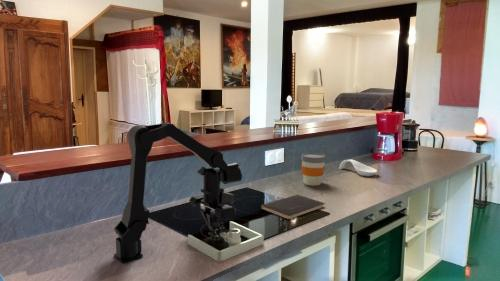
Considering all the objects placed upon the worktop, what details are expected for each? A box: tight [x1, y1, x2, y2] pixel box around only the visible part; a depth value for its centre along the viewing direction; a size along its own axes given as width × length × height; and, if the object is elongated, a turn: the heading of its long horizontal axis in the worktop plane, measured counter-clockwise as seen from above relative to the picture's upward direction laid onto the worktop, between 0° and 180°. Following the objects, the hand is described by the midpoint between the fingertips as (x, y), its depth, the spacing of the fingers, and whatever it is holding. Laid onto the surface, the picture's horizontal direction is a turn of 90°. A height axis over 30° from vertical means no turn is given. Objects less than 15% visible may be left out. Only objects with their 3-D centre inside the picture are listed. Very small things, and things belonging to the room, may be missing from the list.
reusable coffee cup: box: [300, 152, 326, 187], centre depth 197 cm, size 13×13×15 cm
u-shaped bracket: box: [187, 220, 265, 263], centre depth 124 cm, size 19×16×3 cm
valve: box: [208, 221, 242, 248], centre depth 123 cm, size 7×7×12 cm
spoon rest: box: [338, 159, 378, 177], centre depth 221 cm, size 24×12×7 cm, turn 39°
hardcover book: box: [260, 194, 326, 220], centre depth 160 cm, size 16×23×2 cm
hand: (211, 229), depth 129 cm, fingers closed
